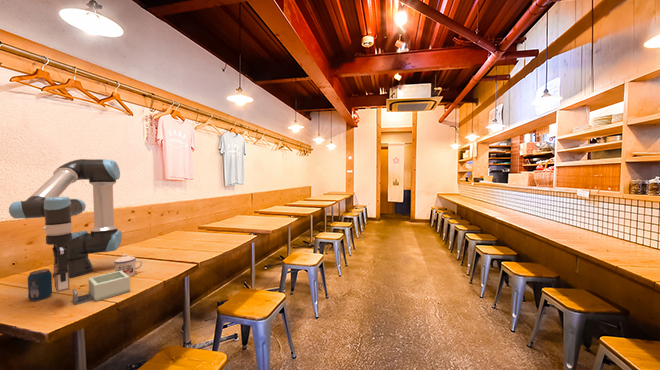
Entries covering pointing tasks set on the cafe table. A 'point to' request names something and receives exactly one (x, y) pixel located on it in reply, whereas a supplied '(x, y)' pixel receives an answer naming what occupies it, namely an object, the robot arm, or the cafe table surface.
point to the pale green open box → (109, 285)
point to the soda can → (39, 285)
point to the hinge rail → (81, 297)
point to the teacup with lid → (126, 264)
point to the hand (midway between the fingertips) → (61, 285)
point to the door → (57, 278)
